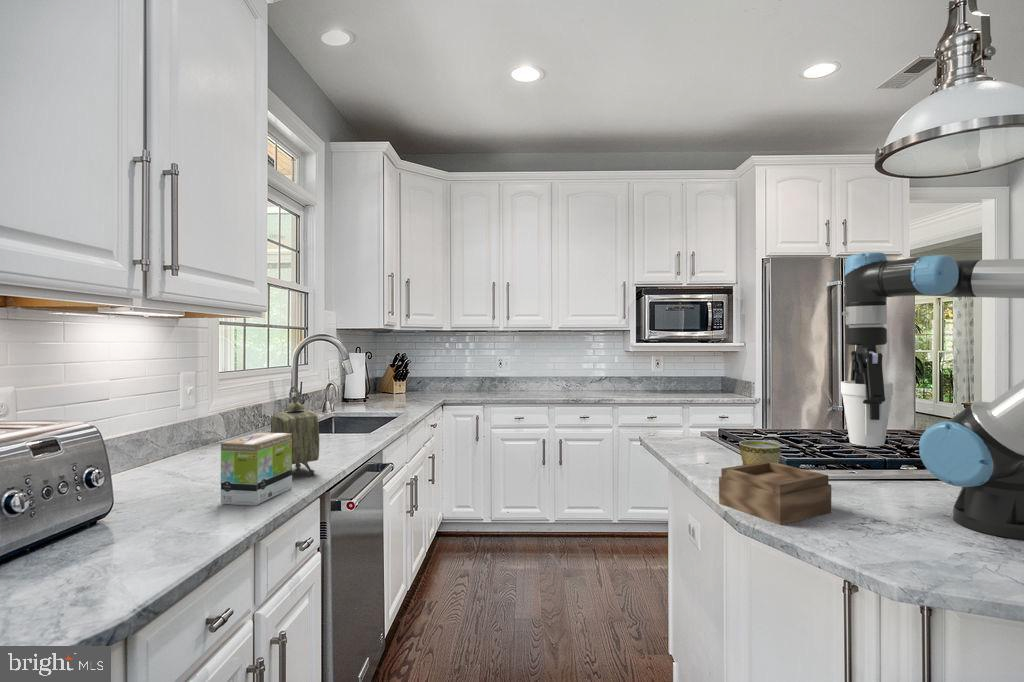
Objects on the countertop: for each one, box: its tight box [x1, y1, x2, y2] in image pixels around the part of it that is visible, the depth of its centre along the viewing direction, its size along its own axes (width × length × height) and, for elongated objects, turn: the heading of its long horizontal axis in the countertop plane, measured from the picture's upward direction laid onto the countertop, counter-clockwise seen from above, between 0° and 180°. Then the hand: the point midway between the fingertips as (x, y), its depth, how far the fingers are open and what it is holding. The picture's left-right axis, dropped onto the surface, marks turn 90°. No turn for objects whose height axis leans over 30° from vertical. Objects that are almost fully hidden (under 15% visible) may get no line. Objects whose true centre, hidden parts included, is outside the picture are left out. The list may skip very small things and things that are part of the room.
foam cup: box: [840, 380, 894, 447], centre depth 119 cm, size 10×9×13 cm
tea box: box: [220, 432, 293, 506], centre depth 138 cm, size 15×10×15 cm, turn 171°
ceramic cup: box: [738, 439, 782, 465], centre depth 145 cm, size 13×10×10 cm
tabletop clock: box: [270, 385, 320, 476], centre depth 159 cm, size 14×9×25 cm, turn 40°
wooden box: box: [718, 461, 832, 526], centre depth 123 cm, size 16×16×8 cm
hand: (866, 431), depth 120 cm, fingers closed on foam cup, 9 cm apart
